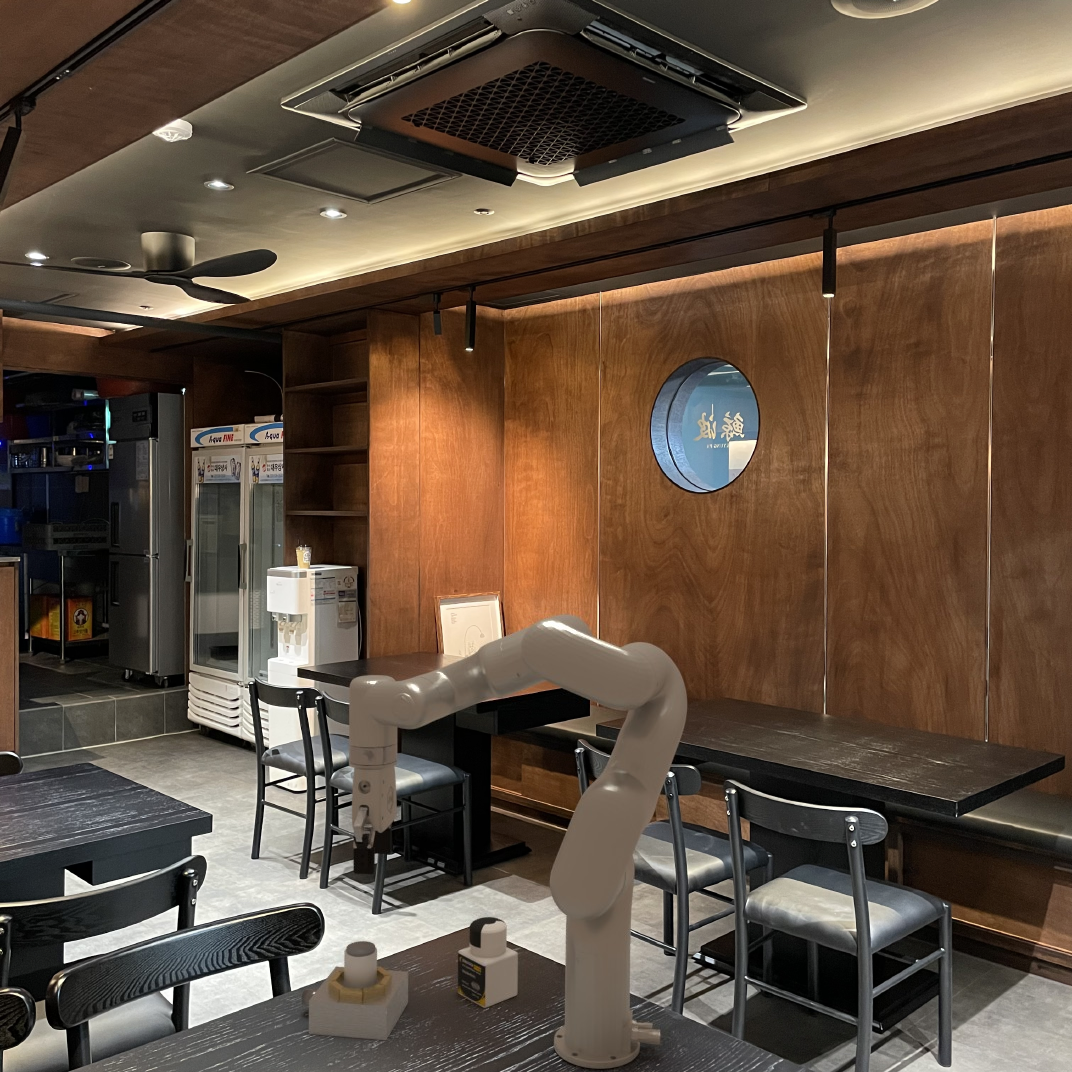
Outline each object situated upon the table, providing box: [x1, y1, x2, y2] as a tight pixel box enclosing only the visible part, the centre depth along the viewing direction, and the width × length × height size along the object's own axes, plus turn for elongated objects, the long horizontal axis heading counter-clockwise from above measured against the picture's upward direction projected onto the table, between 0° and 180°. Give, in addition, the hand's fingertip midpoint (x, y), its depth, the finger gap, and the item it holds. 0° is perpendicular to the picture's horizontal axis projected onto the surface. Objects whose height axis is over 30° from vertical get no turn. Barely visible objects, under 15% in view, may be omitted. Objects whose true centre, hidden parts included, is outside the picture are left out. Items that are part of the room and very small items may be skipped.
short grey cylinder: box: [343, 940, 378, 989], centre depth 156 cm, size 5×5×6 cm
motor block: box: [301, 965, 409, 1041], centre depth 156 cm, size 15×12×6 cm
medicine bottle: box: [457, 916, 519, 1009], centre depth 164 cm, size 7×7×12 cm
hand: (372, 863), depth 159 cm, fingers open, 9 cm apart
